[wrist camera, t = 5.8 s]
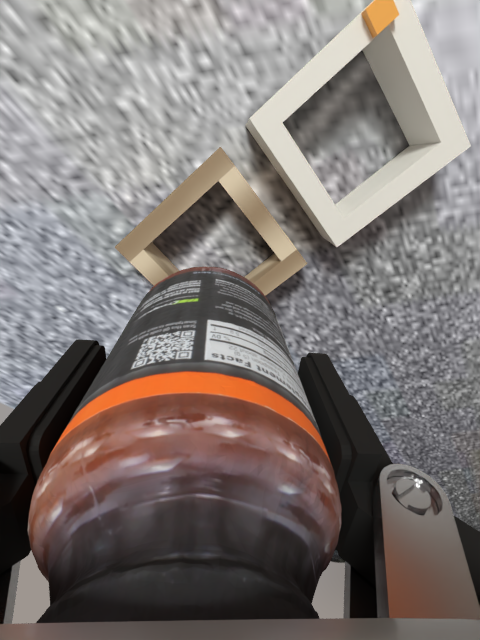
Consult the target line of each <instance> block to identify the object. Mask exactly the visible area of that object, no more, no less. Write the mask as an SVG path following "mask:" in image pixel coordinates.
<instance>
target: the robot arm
mask: <svg viewBox="0 0 480 640" xmlns="http://www.w3.org/2000/svg"><path fill="white" fill-rule="evenodd" d="M105 361H106V353H105V348H104V346H99V343H98V341H94V340H76V341H75V342H74V343H73V344H72V345H71V346H70V348H69V349H68V350H67V351H66V352H65V354H64V355H63V356H62V357H61V358H60V359H59V361H58V362H57V363H56V364H55V365H54V367H53V368H52V369H51V370H50V371H49V373H48V374H47V375H46V376H45V377H44V378H43V380H42V381H41V382H38V383H37V384H36V385H35V386H34V387H33V388H32V389H31V390H30V392H29V393H28V394H27V395H26V396H25V397H24V399H23V400H22V401H21V402H20V403H19V404H18V406H17V407H16V408H15V409H14V410H13V412H12V413H11V414H10V415H9V416H8V417H7V418H6V420H5V421H4V422H3V423H2V424H1V425H0V640H480V532H479V531H477V530H476V529H474V528H472V527H471V526H469V525H468V524H466V523H465V522H463V521H461V520H460V519H458V518H457V517H455V516H454V515H453V512H452V508H451V505H450V502H449V500H448V498H447V495H446V493H445V492H444V491H443V490H442V488H441V487H440V486H439V484H437V483H436V482H435V481H434V480H433V479H432V478H431V477H430V476H428V475H427V474H425V473H423V472H422V471H420V470H418V469H416V468H413V467H411V466H408V465H403V464H393V463H392V462H391V460H390V458H389V456H388V455H387V453H386V451H385V449H384V448H383V446H382V444H381V442H380V441H379V439H378V437H377V435H376V434H375V432H374V430H373V428H372V427H371V425H370V423H369V421H368V419H367V418H366V416H365V414H364V412H363V411H362V409H361V407H360V405H359V404H358V402H357V400H356V399H355V398H354V397H353V396H351V395H349V393H348V391H347V389H346V387H345V386H344V384H343V382H342V380H341V378H340V377H339V375H338V373H337V371H336V369H335V367H334V366H333V364H332V362H331V360H330V358H329V357H328V355H327V354H321V353H308V355H307V357H302V358H301V361H300V366H299V371H298V376H299V379H300V381H301V384H302V386H303V389H304V392H305V395H306V397H307V400H308V403H309V405H310V408H311V411H312V413H313V416H314V418H315V421H316V423H317V426H318V428H319V431H320V434H321V438H322V441H323V443H324V446H325V448H326V451H327V454H328V457H329V459H330V462H331V465H332V468H333V470H334V474H335V479H336V482H337V485H338V490H339V496H340V502H341V509H342V512H341V522H342V524H341V528H340V532H339V538H338V543H337V546H336V548H335V550H337V551H338V554H339V556H340V557H341V558H342V559H343V560H345V590H344V619H254V620H189V621H128V622H74V623H30V624H29V623H28V624H12V618H13V612H14V605H15V597H16V590H17V583H18V575H19V568H20V561H21V560H22V559H23V558H25V557H26V556H28V555H29V553H30V551H31V547H30V541H29V536H28V519H29V511H30V505H31V500H32V495H33V492H34V489H35V486H36V484H37V482H38V479H39V477H40V475H41V472H42V471H43V469H44V467H45V465H46V463H47V461H48V459H49V456H50V454H51V452H52V450H53V449H54V447H55V445H56V444H57V442H58V440H59V439H60V437H61V435H62V433H63V432H64V430H65V428H66V427H67V425H68V423H69V422H70V420H71V418H72V416H73V414H74V413H75V411H76V409H77V407H78V406H79V404H80V403H81V401H82V399H83V397H84V396H85V394H86V393H87V391H88V389H89V388H90V386H91V384H92V383H93V381H94V379H95V377H96V376H97V374H98V373H99V371H100V369H101V367H102V366H103V364H104V362H105Z"/></svg>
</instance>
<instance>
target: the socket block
mask: <svg viewBox="0 0 480 640" xmlns="http://www.w3.org/2000/svg"><path fill="white" fill-rule="evenodd" d="M361 50H363V53H364V55H365V57H366V59H367V61H368V63H369V65H370V67H371V69H372V71H373V73H374V75H375V77H376V79H377V81H378V83H379V85H380V87H381V89H382V91H383V93H384V95H385V97H386V99H387V101H388V103H389V105H390V107H391V109H392V111H393V113H394V115H395V117H396V119H397V121H398V123H399V125H400V127H401V129H402V131H403V133H404V136H405V138H406V140H407V142H408V144H409V146H408V147H407V148H406V149H405V150H403V151H402V152H401V153H400V154H398V155H397V156H396V157H395V158H393V159H392V160H391V161H389V162H388V163H387V164H386V165H384V166H383V167H382V168H381V169H379V170H378V171H377V172H376V173H374V174H373V175H372V176H371V177H369V178H368V179H367V180H366V181H364V182H363V183H362V184H361V185H359V186H358V187H357V188H356V189H354V190H353V191H352V192H351V193H349V194H348V195H347V196H346V197H344V198H343V199H342V200H341V201H339V202H338V203H337V204H336V205H335V204H334V202H333V201H332V199H331V198H330V196H329V194H328V193H327V191H326V190H325V188H324V187H323V185H322V184H321V182H320V180H319V179H318V177H317V176H316V174H315V173H314V171H313V170H312V168H311V166H310V165H309V163H308V162H307V160H306V159H305V157H304V155H303V154H302V152H301V151H300V149H299V148H298V146H297V145H296V143H295V141H294V140H293V138H292V137H291V135H290V134H289V132H288V131H287V129H286V127H285V126H284V124H283V122H284V121H285V120H286V119H287V118H288V117H289V116H290V115H291V114H292V113H294V112H295V111H296V110H297V109H298V108H299V107H300V106H301V105H302V104H303V103H304V102H306V101H307V100H308V99H309V98H310V97H311V96H312V95H313V94H314V93H315V92H316V91H318V90H319V89H320V88H321V87H322V86H323V85H324V84H325V83H326V82H327V81H328V80H330V79H331V78H332V77H333V76H334V75H335V74H336V73H337V72H338V71H339V70H340V69H342V68H343V67H344V66H345V65H346V64H347V63H348V62H349V61H350V60H351V59H353V58H354V57H355V56H356V55H357V54H358V53H359V52H360V51H361ZM245 126H246V127H247V129H248V130H249V132H250V133H251V134H252V136H253V137H254V139H255V140H256V142H257V143H258V145H259V146H260V147H261V149H262V150H263V152H264V153H265V155H266V156H267V158H268V159H269V161H270V162H271V163H272V165H273V166H274V168H275V169H276V171H277V172H278V174H279V175H280V176H281V178H282V179H283V181H284V182H285V184H286V185H287V187H288V188H289V189H290V191H291V192H292V194H293V195H294V197H295V198H296V200H297V201H298V202H299V204H300V205H301V207H302V208H303V210H304V211H305V213H306V214H307V216H308V217H309V218H310V220H311V221H312V223H313V224H314V226H315V227H316V229H317V230H318V231H319V233H320V234H321V236H322V237H323V238H325V239H326V240H327V241H329V242H330V243H332V244H333V245H334V246H336V247H338V246H339V245H341V244H342V243H343V242H345V241H346V240H347V239H349V238H350V237H351V236H353V235H354V234H355V233H357V232H358V231H359V230H361V229H362V228H363V227H365V226H366V225H367V224H368V223H370V222H371V221H372V220H374V219H375V218H376V217H378V216H379V215H380V214H382V213H383V212H384V211H386V210H387V209H388V208H390V207H391V206H392V205H394V204H395V203H396V202H398V201H399V200H400V199H402V198H403V197H404V196H405V195H407V194H408V193H409V192H411V191H412V190H413V189H415V188H416V187H417V186H419V185H420V184H421V183H423V182H424V181H425V180H427V179H428V178H429V177H431V176H432V175H433V174H435V173H436V172H437V171H439V170H440V169H441V168H443V167H444V166H445V165H446V164H448V163H449V162H450V161H452V160H453V159H454V158H456V157H457V156H458V155H460V154H461V153H462V152H464V151H465V150H466V149H468V148H469V147H470V146H471V145H470V143H469V140H468V138H467V136H466V133H465V131H464V128H463V126H462V123H461V121H460V119H459V116H458V114H457V111H456V109H455V107H454V104H453V102H452V99H451V97H450V94H449V92H448V90H447V87H446V85H445V82H444V80H443V78H442V75H441V73H440V70H439V68H438V65H437V63H436V61H435V58H434V56H433V53H432V51H431V49H430V46H429V44H428V41H427V39H426V36H425V34H424V32H423V29H422V27H421V24H420V22H419V20H418V17H417V15H416V12H415V10H414V7H413V5H412V3H411V0H374V1H373V2H372V3H371V4H369V5H368V6H367V7H366V8H365V9H364V10H363V11H362V12H361V13H360V14H359V15H358V16H357V17H356V18H355V19H354V20H353V21H352V22H351V23H349V24H348V25H347V26H346V27H345V28H344V29H343V30H342V31H341V32H340V33H339V34H338V35H337V36H336V37H335V38H334V39H333V40H332V41H330V42H329V43H328V44H327V45H326V46H325V47H324V48H323V49H322V50H321V51H320V52H319V53H318V54H317V55H316V56H315V57H314V58H313V59H312V60H310V61H309V62H308V63H307V64H306V65H305V66H304V67H303V68H302V69H301V70H300V71H299V72H298V73H297V74H296V75H295V76H294V77H293V78H292V79H290V80H289V81H288V82H287V83H286V84H285V85H284V86H283V87H282V88H281V89H280V90H279V91H278V92H277V93H276V94H275V95H274V96H273V97H272V98H270V99H269V100H268V101H267V102H266V103H265V104H264V105H263V106H262V107H261V108H260V109H259V110H258V111H257V112H256V113H255V114H254V115H253V116H251V117H250V118H249V120H248V122H247V123H246V125H245Z"/></svg>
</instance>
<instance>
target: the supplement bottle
mask: <svg viewBox="0 0 480 640" xmlns="http://www.w3.org/2000/svg"><path fill="white" fill-rule="evenodd" d="M341 512H342V509H341V502H340V496H339V490H338V485H337V482H336V479H335V474H334V470H333V468H332V465H331V462H330V459H329V457H328V454H327V451H326V448H325V446H324V443H323V441H322V438H321V434H320V431H319V428H318V426H317V423H316V421H315V418H314V416H313V413H312V411H311V408H310V405H309V403H308V400H307V397H306V395H305V392H304V389H303V386H302V384H301V381H300V379H299V376H298V373H297V371H296V368H295V366H294V363H293V360H292V358H291V355H290V352H289V350H288V347H287V344H286V342H285V339H284V336H283V334H282V331H281V328H280V326H279V323H278V320H277V318H276V316H275V313H274V311H273V309H272V307H271V305H270V303H269V301H268V299H267V298H266V296H265V295H264V294H263V292H262V291H261V290H260V289H259V288H258V287H257V286H256V285H255V284H253V283H252V282H251V281H249V280H248V279H246V278H245V277H243V276H241V275H239V274H237V273H235V272H232V271H230V270H227V269H223V268H219V267H193V268H189V269H184V270H181V271H178V272H176V273H174V274H171V275H169V276H167V277H165V278H164V279H163V280H161V281H160V282H158V283H157V284H156V285H155V286H154V287H153V288H152V289H151V290H150V291H149V292H148V293H147V294H146V296H145V297H144V298H143V300H142V301H141V303H140V304H139V306H138V307H137V309H136V311H135V312H134V314H133V316H132V317H131V319H130V320H129V322H128V324H127V325H126V327H125V329H124V331H123V333H122V334H121V336H120V338H119V339H118V341H117V343H116V344H115V346H114V348H113V349H112V351H111V353H110V355H109V356H108V357H107V359H106V361H105V362H104V364H103V366H102V367H101V369H100V371H99V373H98V374H97V376H96V377H95V379H94V381H93V383H92V384H91V386H90V388H89V389H88V391H87V393H86V394H85V396H84V397H83V399H82V401H81V403H80V404H79V406H78V407H77V409H76V411H75V413H74V414H73V416H72V418H71V420H70V422H69V423H68V425H67V427H66V428H65V430H64V432H63V433H62V435H61V437H60V439H59V440H58V442H57V444H56V445H55V447H54V449H53V450H52V452H51V454H50V456H49V459H48V461H47V463H46V465H45V467H44V469H43V471H42V472H41V475H40V477H39V479H38V482H37V484H36V486H35V489H34V492H33V495H32V500H31V505H30V511H29V519H28V536H29V541H30V547H31V550H32V552H33V555H34V557H35V560H36V562H37V565H38V568H39V570H40V571H41V573H42V574H43V576H44V577H45V578H46V579H47V580H48V582H49V590H50V607H49V608H48V609H47V610H46V612H45V613H44V614H43V615H42V617H41V618H40V619H39V620H38V621H37V623H74V622H128V621H189V620H254V619H319V616H318V613H317V612H316V611H315V610H314V608H313V606H312V604H311V603H312V600H313V596H314V593H315V590H316V587H317V584H318V581H319V578H320V576H321V574H322V572H323V571H324V570H325V569H326V568H327V566H328V565H329V563H330V561H331V559H332V556H333V553H334V551H335V548H336V546H337V543H338V538H339V532H340V528H341V524H342V522H341Z"/></svg>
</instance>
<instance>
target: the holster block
mask: <svg viewBox="0 0 480 640" xmlns="http://www.w3.org/2000/svg"><path fill="white" fill-rule="evenodd" d="M218 181H219V182H220V183H221V185H222V186H223V187H224V189H225V190H226V191H227V192H228V194H229V195H230V196H231V198H232V199H233V200H234V201H235V203H236V204H237V205H238V207H239V208H240V209H241V210H242V212H243V213H244V214H245V215H246V217H247V218H248V219H249V221H250V222H251V223H252V224H253V226H254V227H255V228H256V230H257V231H258V232H259V233H260V235H261V236H262V237H263V239H264V240H265V241H266V242H267V244H268V245H269V246H270V248H271V249H272V250H273V251H274V254H273V255H271V256H270V257H269V258H268V259H266V260H265V261H264V262H263V263H261V264H260V265H259V266H258V267H256V268H255V269H254V270H253V271H251V272H250V273H249V274H248V275H246V276H245V278H246V279H248V280H249V281H251V282H252V283H253V284H255V285H256V286H257V287H258V288H259V289H260V290H261V291H262V292H263V294H264V295H265V296H266V295H267V294H268V293H270V292H271V291H272V290H274V289H275V288H276V287H278V286H279V285H280V284H281V283H283V282H284V281H285V280H287V279H288V278H289V277H291V276H292V275H293V274H295V273H296V272H297V271H299V270H300V269H301V268H302V267H304V266H305V265H306V264H307V262H306V261H305V260H304V258H303V257H302V256H301V254H300V253H299V252H298V250H297V249H296V248H295V246H294V245H293V244H292V242H291V241H290V240H289V238H288V237H287V235H286V234H285V233H284V231H283V230H282V229H281V227H280V226H279V225H278V223H277V222H276V221H275V219H274V218H273V217H272V215H271V214H270V213H269V211H268V210H267V209H266V207H265V206H264V205H263V203H262V202H261V200H260V199H259V198H258V196H257V195H256V194H255V192H254V191H253V190H252V188H251V187H250V186H249V184H248V183H247V182H246V180H245V179H244V178H243V176H242V175H241V174H240V172H239V171H238V170H237V168H236V167H235V165H234V164H233V163H232V161H231V160H230V159H229V157H228V156H227V155H226V153H225V152H224V151H223V149H222V148H221V147H220V148H219V149H218V150H217V151H216V152H214V153H213V154H212V155H211V156H210V157H209V158H208V159H207V160H206V161H205V162H204V163H203V164H202V165H201V166H200V167H199V168H198V169H197V170H195V171H194V172H193V173H192V174H191V175H190V176H189V177H188V178H187V179H186V180H185V181H184V182H183V183H182V184H181V185H180V186H179V187H178V188H177V189H175V190H174V191H173V192H172V193H171V194H170V195H169V196H168V197H167V198H166V199H165V200H164V201H163V202H162V203H161V204H160V205H159V206H158V207H156V208H155V209H154V210H153V211H152V212H151V213H150V214H149V215H148V216H147V217H146V218H145V219H144V220H143V221H142V222H141V223H140V224H139V225H138V226H136V227H135V228H134V229H133V230H132V231H131V232H130V233H129V234H128V235H127V236H126V237H125V238H124V239H123V240H122V241H121V242H120V243H119V244H117V245H116V246H115V248H116V249H117V250H118V251H119V252H120V253H121V254H122V255H123V256H124V257H125V258H126V259H127V260H128V261H129V262H130V263H131V264H132V265H133V266H134V267H135V268H136V269H137V270H138V271H139V272H140V273H141V274H142V275H143V276H144V277H145V278H146V279H147V280H148V281H149V282H150V283H151V284H153V285H154V286H155V285H156V284H157V283H158V282H160V281H161V280H163V279H164V278H165V277H167V276H169V275H171V274H174V273H176V272H178V271H179V270H178V269H177V268H176V267H175V266H174V265H173V264H172V263H171V262H170V260H169V259H168V258H167V257H166V256H165V255H164V254H163V253H162V252H161V251H160V250H159V249H158V248H157V247H156V246H155V245H154V244H153V243H152V241H153V240H154V239H155V238H156V237H158V236H159V235H160V234H161V233H162V232H163V231H164V230H165V229H166V228H167V227H168V226H170V225H171V224H172V223H173V222H174V221H175V220H176V219H177V218H178V217H179V216H180V215H182V214H183V213H184V212H185V211H186V210H187V209H188V208H189V207H190V206H191V205H192V204H194V203H195V202H196V201H197V200H198V199H199V198H200V197H201V196H202V195H203V194H204V193H206V192H207V191H208V190H209V189H210V188H211V187H212V186H213V185H214V184H215V183H216V182H218Z"/></svg>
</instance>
